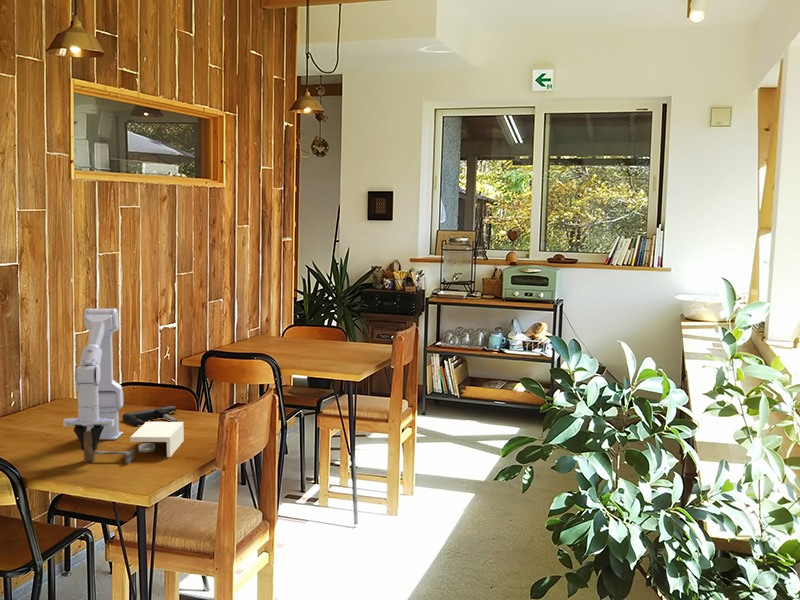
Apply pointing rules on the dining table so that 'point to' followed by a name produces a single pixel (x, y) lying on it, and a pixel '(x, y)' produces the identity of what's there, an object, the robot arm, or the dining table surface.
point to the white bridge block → (161, 434)
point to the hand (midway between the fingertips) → (89, 449)
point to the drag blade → (90, 454)
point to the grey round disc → (146, 447)
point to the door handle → (149, 415)
